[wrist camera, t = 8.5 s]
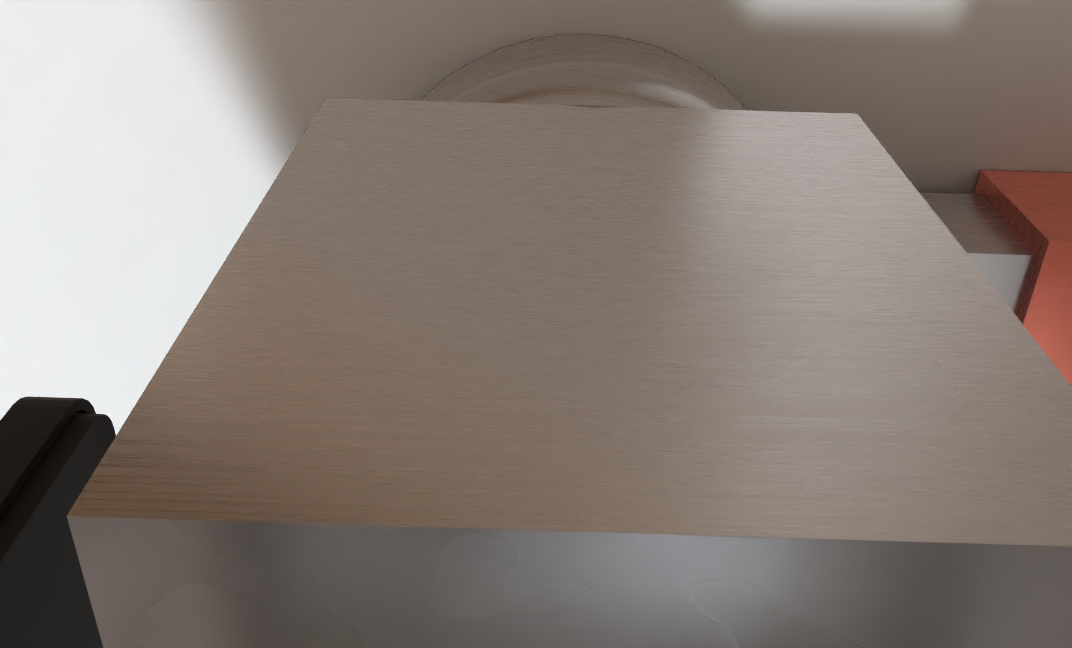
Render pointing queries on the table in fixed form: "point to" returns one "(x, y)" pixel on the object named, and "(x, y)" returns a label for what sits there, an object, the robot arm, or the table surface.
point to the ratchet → (671, 82)
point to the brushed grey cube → (589, 402)
